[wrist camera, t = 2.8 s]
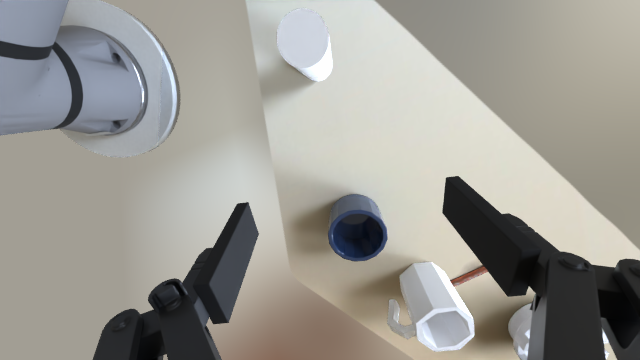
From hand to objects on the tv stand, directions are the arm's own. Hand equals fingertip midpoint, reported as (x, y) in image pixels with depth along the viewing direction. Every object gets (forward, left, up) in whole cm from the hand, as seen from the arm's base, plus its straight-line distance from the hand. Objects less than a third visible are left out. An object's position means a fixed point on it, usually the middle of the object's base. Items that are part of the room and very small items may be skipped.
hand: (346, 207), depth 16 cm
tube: (-6, +10, -22) cm, 25 cm away
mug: (+20, -21, -22) cm, 36 cm away
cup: (+6, -11, -22) cm, 25 cm away
